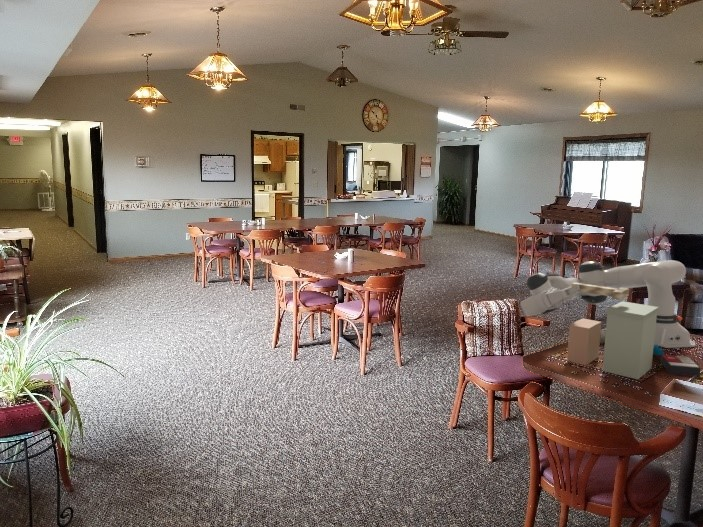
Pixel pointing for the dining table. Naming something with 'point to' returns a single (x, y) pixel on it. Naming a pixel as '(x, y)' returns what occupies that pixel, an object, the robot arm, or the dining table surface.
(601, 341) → the ceramic sculpture
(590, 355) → the light brown box
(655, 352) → the gear
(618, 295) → the wooden key
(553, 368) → the dining table surface
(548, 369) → the dining table surface
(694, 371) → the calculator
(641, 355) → the tall pale green box
